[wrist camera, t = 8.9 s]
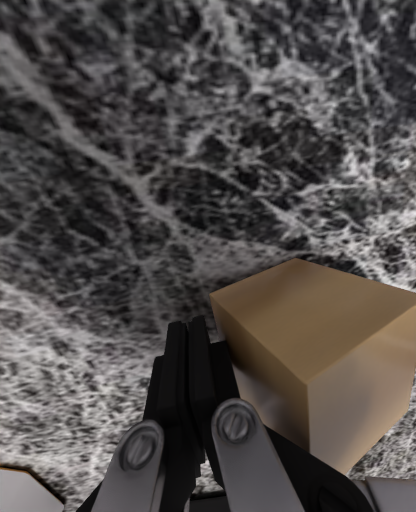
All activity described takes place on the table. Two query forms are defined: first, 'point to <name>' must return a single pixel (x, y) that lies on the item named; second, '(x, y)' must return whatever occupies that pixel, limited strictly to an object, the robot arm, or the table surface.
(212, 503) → the camera
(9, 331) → the table surface
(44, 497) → the cup
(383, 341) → the block
